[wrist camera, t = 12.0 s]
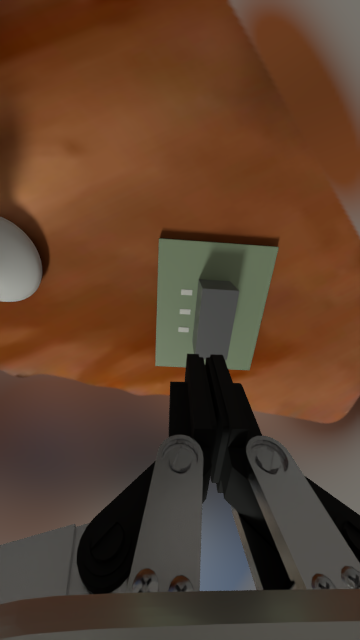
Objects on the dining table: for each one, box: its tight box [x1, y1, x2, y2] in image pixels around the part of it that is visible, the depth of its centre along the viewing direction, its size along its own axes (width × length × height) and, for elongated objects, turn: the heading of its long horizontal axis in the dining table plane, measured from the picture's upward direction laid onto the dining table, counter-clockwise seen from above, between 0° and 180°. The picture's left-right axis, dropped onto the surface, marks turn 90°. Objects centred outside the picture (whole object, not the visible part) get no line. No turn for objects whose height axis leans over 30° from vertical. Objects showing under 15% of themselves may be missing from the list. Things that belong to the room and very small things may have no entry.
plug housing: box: [192, 279, 239, 360], centre depth 30 cm, size 10×4×5 cm, turn 176°
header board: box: [155, 238, 279, 370], centre depth 31 cm, size 20×16×5 cm
